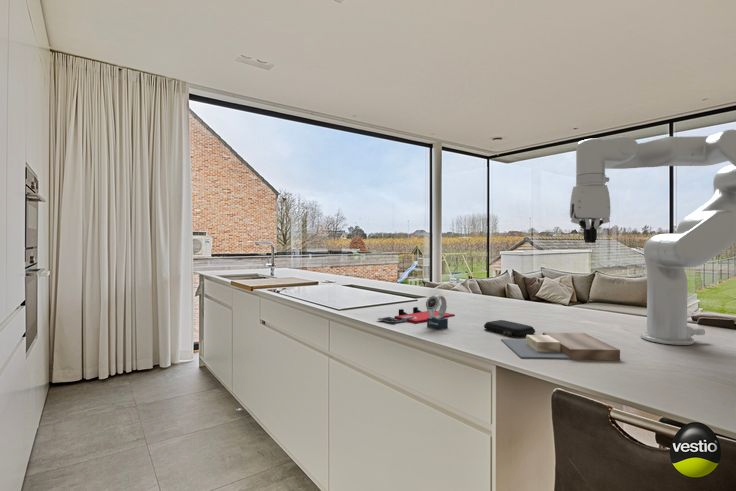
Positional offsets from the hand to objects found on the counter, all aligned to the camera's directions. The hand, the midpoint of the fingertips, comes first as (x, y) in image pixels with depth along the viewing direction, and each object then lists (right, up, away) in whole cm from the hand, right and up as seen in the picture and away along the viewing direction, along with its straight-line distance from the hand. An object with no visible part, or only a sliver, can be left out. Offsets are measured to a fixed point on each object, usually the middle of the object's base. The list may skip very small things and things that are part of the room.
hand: (590, 242), depth 117 cm
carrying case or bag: (-21, -30, +10) cm, 38 cm away
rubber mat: (-22, -29, -10) cm, 38 cm away
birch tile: (-19, -29, -11) cm, 36 cm away
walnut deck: (-10, -29, -11) cm, 33 cm away
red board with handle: (-49, -30, +34) cm, 66 cm away
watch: (-43, -29, +17) cm, 55 cm away
